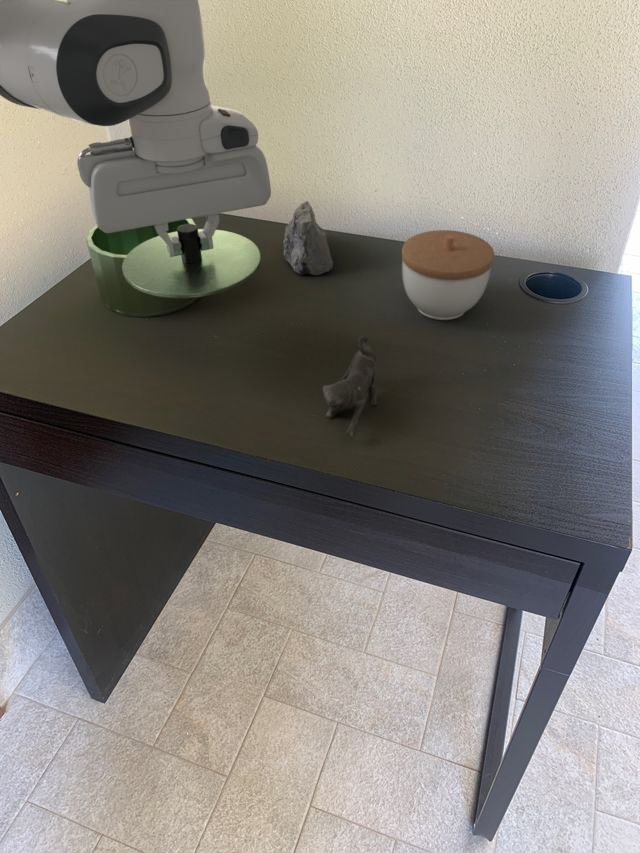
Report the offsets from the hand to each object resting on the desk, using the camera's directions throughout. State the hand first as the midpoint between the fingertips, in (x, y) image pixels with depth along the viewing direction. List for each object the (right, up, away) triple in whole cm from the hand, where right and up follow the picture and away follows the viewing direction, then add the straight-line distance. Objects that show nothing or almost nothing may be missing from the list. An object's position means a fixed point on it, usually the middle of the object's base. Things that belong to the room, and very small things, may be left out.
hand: (191, 251), depth 82 cm
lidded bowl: (+33, -4, +19) cm, 38 cm away
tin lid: (0, -1, +1) cm, 2 cm away
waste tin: (-10, 0, +23) cm, 25 cm away
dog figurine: (+19, -19, +1) cm, 27 cm away
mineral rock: (+14, +7, +31) cm, 34 cm away
